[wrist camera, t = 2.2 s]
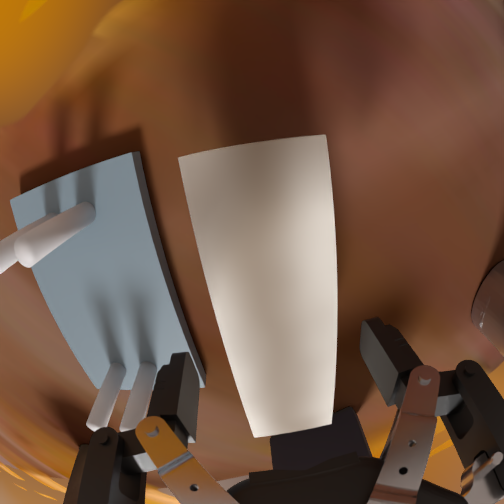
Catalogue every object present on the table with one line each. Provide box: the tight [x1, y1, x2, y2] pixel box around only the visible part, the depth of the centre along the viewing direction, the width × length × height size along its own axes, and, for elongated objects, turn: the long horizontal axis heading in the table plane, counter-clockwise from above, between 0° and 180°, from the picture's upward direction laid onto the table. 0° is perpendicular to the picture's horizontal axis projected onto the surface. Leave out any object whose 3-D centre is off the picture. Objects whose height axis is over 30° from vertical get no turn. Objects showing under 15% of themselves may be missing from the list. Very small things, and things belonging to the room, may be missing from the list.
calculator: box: [270, 407, 372, 470], centre depth 22 cm, size 11×4×15 cm, turn 120°
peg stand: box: [0, 151, 206, 432], centre depth 17 cm, size 12×20×8 cm, turn 9°
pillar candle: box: [63, 444, 89, 504], centre depth 26 cm, size 10×10×15 cm
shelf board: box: [178, 135, 337, 438], centre depth 14 cm, size 6×18×3 cm, turn 9°
